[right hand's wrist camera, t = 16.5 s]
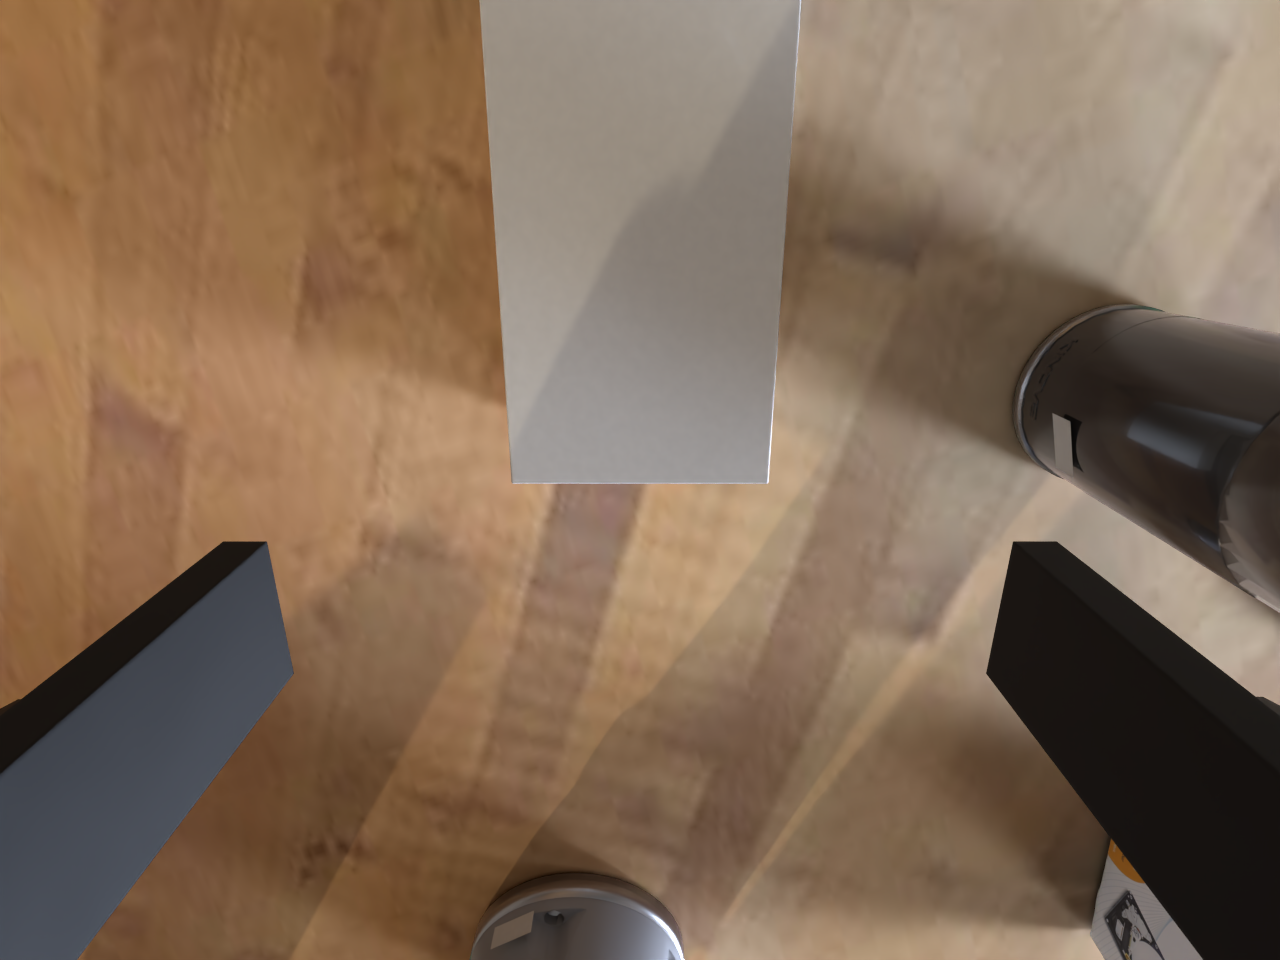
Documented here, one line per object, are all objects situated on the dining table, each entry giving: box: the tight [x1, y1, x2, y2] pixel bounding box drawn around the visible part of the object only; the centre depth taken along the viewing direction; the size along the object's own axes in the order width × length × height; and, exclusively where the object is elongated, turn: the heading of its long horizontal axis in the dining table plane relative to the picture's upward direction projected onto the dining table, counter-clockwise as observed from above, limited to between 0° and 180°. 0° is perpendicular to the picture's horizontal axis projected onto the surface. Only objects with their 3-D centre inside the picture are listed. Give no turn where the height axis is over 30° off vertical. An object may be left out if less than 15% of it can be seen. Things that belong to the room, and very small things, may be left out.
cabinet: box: [479, 0, 801, 484], centre depth 30 cm, size 18×10×10 cm, turn 0°
